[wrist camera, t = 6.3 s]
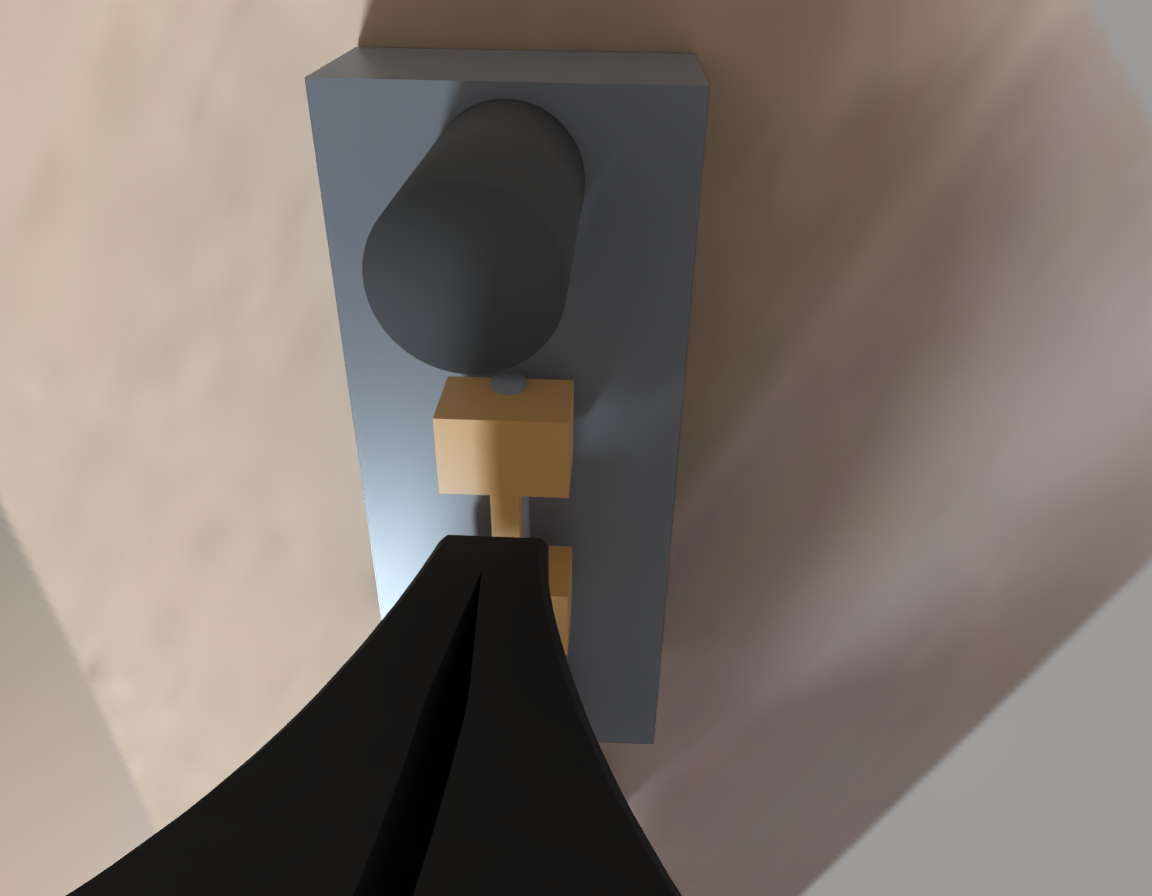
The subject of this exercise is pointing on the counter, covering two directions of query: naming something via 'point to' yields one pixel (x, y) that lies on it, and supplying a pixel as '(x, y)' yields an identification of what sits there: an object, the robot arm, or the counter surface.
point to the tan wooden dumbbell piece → (510, 457)
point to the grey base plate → (574, 352)
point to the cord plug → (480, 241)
